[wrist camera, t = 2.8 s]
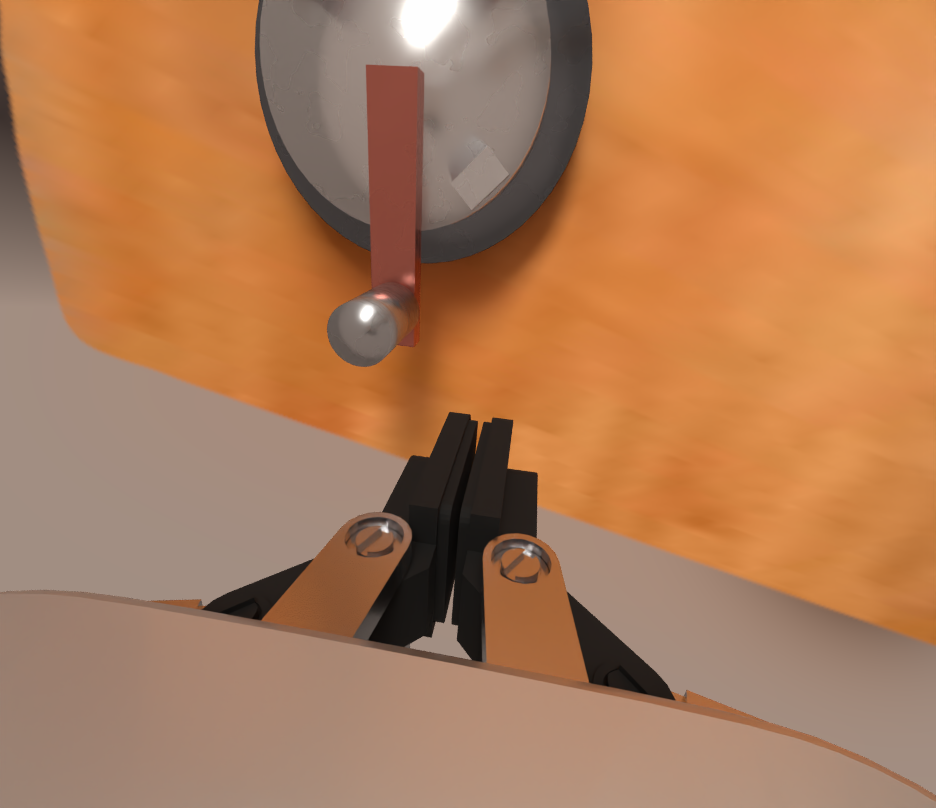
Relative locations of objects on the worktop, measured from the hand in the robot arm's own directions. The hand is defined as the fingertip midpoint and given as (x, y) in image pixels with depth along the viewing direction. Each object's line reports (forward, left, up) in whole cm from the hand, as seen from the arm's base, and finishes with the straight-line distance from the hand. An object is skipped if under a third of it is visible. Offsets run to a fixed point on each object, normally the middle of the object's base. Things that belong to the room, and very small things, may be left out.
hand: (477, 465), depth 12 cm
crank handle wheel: (+7, -8, -17) cm, 20 cm away
